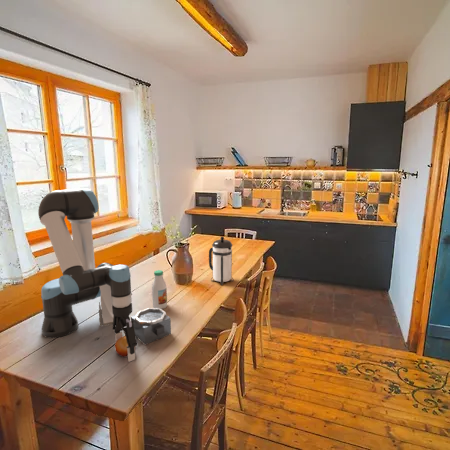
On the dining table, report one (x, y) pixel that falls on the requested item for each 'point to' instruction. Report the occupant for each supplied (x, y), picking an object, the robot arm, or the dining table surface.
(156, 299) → the milk bottle
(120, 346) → the fruit
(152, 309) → the grey octagonal pot
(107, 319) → the skyscraper
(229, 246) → the coffee press
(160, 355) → the dining table surface
